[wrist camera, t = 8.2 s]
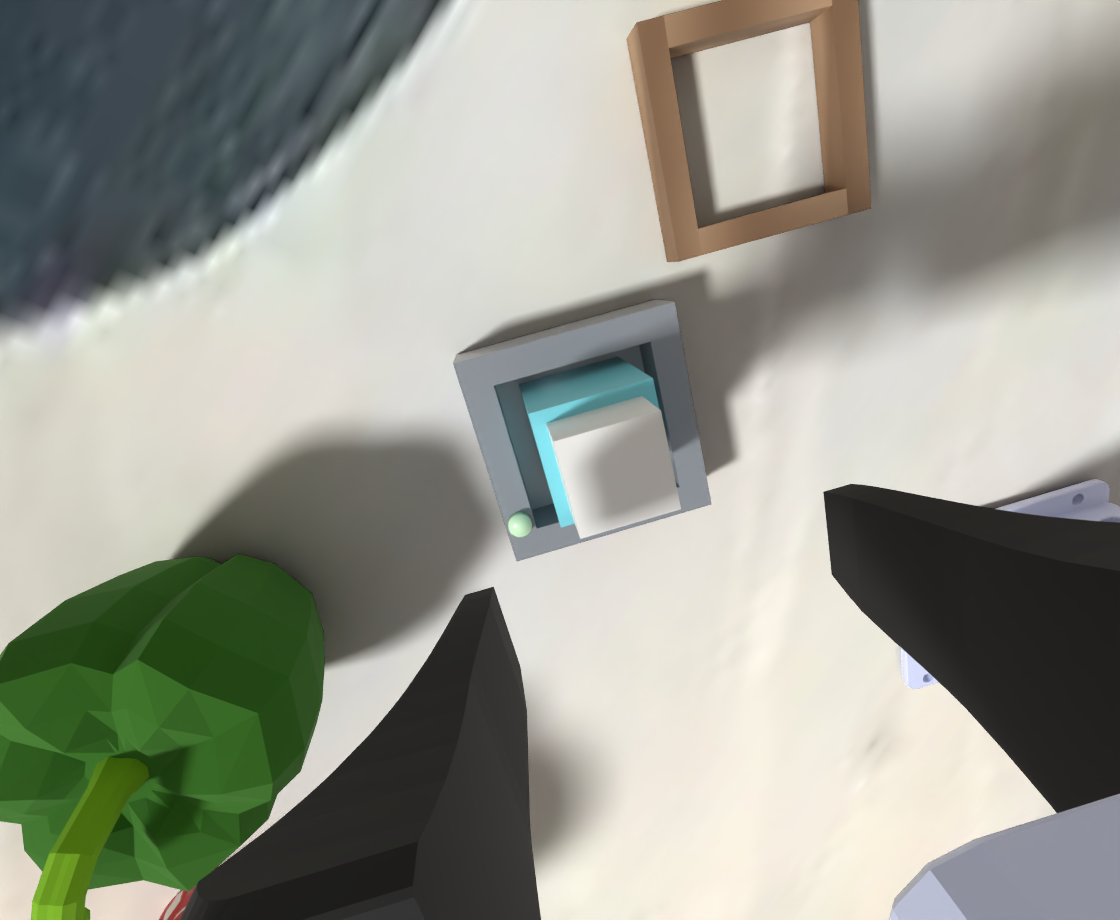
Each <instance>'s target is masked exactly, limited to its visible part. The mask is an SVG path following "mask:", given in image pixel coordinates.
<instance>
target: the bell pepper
mask: <svg viewBox="0 0 1120 920" xmlns="http://www.w3.org/2000/svg"><path fill="white" fill-rule="evenodd" d="M324 664H325V650H324V631H323V628H322V625H321V622H320V618H319V615H318V612H317V609H316V605H315V602H314V599H313V596H312V593H311V592H310V591H309V590H307V589H306V588H305V587H304V586H302V585H301V584H300V583H299V582H297V581H296V580H295V579H294V578H292V577H291V576H290V575H289V574H287V573H286V572H285V571H284V570H283V569H281V568H280V567H279V566H278V565H276V564H274V563H270V562H266V561H263V560H259V559H255V558H252V557H248V556H244V555H241V554H237V555H235V556H234V557H232V558H231V559H229V560H228V561H226V562H224V563H223V564H221V563H219V562H217V561H215V560H213V559H211V558H205V557H189V558H181V559H173V560H165V561H157V562H153V563H151V564H148V565H145V566H143V567H140V568H138V569H135V570H133V571H130V572H127V573H125V574H122V575H120V576H117V577H115V578H113V579H111V580H109V581H107V582H104V583H102V584H100V585H98V586H96V587H94V588H91V589H89V590H87V591H85V592H83V593H81V594H78V595H76V596H74V597H72V598H70V599H68V600H65V601H64V602H63V603H61V604H60V605H59V606H57V607H56V608H55V609H53V610H52V611H51V612H49V613H48V614H47V615H45V616H44V617H43V618H41V619H40V620H39V621H38V622H36V623H35V624H34V625H32V626H31V627H30V628H28V629H27V630H26V631H24V632H23V633H22V634H20V635H19V636H18V637H16V638H15V639H14V640H12V641H11V642H10V643H9V644H8V645H7V646H6V648H5V649H4V651H3V652H2V653H1V655H0V821H3V822H10V823H18V824H22V833H23V842H24V850H25V852H26V853H27V854H28V855H29V856H30V857H31V859H32V860H33V861H34V862H35V863H36V864H37V866H38V867H39V868H40V869H41V870H42V871H43V872H42V875H41V878H40V881H39V884H38V887H37V889H36V892H35V895H34V898H33V901H32V913H31V920H90V910H89V909H87V908H86V907H85V897H86V893H87V890H88V889H94V888H99V887H105V886H111V885H117V884H123V883H129V882H135V881H141V880H145V881H149V882H153V883H157V884H161V885H165V886H169V887H173V888H177V889H180V890H184V891H188V892H189V891H190V890H192V889H193V888H194V887H195V886H196V885H197V883H198V881H200V880H201V879H202V878H204V877H205V876H207V875H208V874H209V873H211V872H212V871H213V870H214V869H215V868H216V867H217V866H218V865H220V864H221V863H222V862H223V861H224V860H225V859H226V858H227V857H229V856H230V855H231V854H232V853H233V852H234V851H235V850H236V849H238V848H239V847H240V846H241V845H242V844H243V843H244V842H245V841H246V840H247V839H248V838H249V837H250V836H251V835H252V834H253V833H254V832H255V831H256V830H257V829H258V828H259V827H261V826H262V825H263V824H264V823H265V822H266V821H267V820H268V818H269V816H270V813H271V810H272V808H273V805H274V802H275V799H276V797H277V794H278V793H279V792H280V791H281V790H282V789H283V788H284V787H285V786H286V785H287V784H288V783H289V782H290V781H291V780H292V779H293V778H294V777H295V776H296V775H297V774H298V773H299V772H300V771H301V769H302V766H303V763H304V760H305V757H306V754H307V751H308V748H309V745H310V742H311V739H312V736H313V733H314V730H315V727H316V723H317V719H318V715H319V711H320V707H321V703H322V696H323V680H324Z"/></svg>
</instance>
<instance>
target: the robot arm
mask: <svg viewBox="0 0 1120 920" xmlns="http://www.w3.org/2000/svg"><path fill="white" fill-rule="evenodd" d="M1109 494H1110V487H1109V484H1108V483H1107V482H1104V481H1101V480H1098V479H1092V480H1089V481H1085V482H1082V483H1079V484H1075V485H1072V486H1069V487H1065V488H1062V489H1059V490H1055V491H1052V492H1049V493H1045V494H1042V495H1039V496H1035V497H1032V498H1029V499H1025V500H1022V501H1019V502H1015V503H1012V504H1009V505H1005V506H1002V507H999V508H995V509H992V508H985V507H980V506H974V505H968V504H963V503H957V502H952V501H947V500H942V499H936V498H931V497H926V496H921V495H916V494H911V493H906V492H901V491H896V490H890V489H885V488H879V487H873V486H866V485H857V484H849V485H846V486H843V487H839V488H836V489H832V490H829V491H825V492H824V501H825V511H826V521H827V531H828V541H829V551H830V561H831V571H832V575H833V576H834V578H835V579H836V580H837V582H838V583H839V584H840V585H841V587H842V588H843V589H844V590H845V592H846V593H847V594H848V595H849V597H850V598H851V599H852V600H853V601H854V602H855V604H856V605H857V606H858V607H859V608H860V609H861V611H862V612H863V613H864V614H866V615H867V616H868V617H869V618H870V619H871V620H872V621H873V622H874V623H875V624H876V625H877V626H878V627H879V628H880V629H881V630H883V631H884V632H885V633H886V634H887V635H888V636H889V637H890V638H891V639H892V640H893V641H894V642H895V643H897V644H898V645H899V646H900V648H901V664H902V679H903V682H904V683H905V684H906V685H907V686H908V687H909V688H911V689H919V688H922V687H925V686H928V685H931V684H935V683H938V682H939V683H940V684H941V685H943V686H944V687H945V688H946V689H947V690H948V691H949V692H950V693H951V694H952V695H953V696H954V697H955V698H956V699H957V700H958V701H959V702H960V703H961V704H962V705H963V706H964V707H965V708H966V709H967V710H968V711H969V712H970V713H971V714H972V716H973V717H974V718H975V719H976V720H977V721H978V722H979V723H980V724H981V726H982V727H983V728H984V729H985V730H986V731H987V732H988V733H989V734H990V735H991V737H992V738H993V739H994V740H995V741H996V742H997V743H998V744H999V745H1000V747H1001V748H1002V749H1003V750H1004V751H1005V752H1006V753H1007V754H1008V756H1009V757H1010V758H1011V759H1012V760H1013V761H1014V763H1015V764H1016V765H1017V766H1018V767H1019V769H1020V770H1021V771H1022V772H1023V773H1024V774H1025V776H1026V777H1027V778H1028V779H1029V780H1030V781H1031V783H1032V784H1033V785H1034V786H1035V787H1036V788H1037V790H1038V791H1039V792H1040V793H1041V794H1042V796H1043V797H1044V798H1045V799H1046V800H1047V801H1048V803H1049V804H1050V805H1051V806H1052V807H1053V809H1054V810H1055V811H1056V812H1057V814H1054V815H1050V816H1047V817H1044V818H1041V819H1038V820H1035V821H1031V822H1028V823H1025V824H1022V825H1019V826H1015V827H1012V828H1009V829H1006V830H1003V831H1000V832H996V833H993V834H990V835H987V836H984V837H981V838H977V839H974V840H972V841H970V842H968V843H966V844H964V845H962V846H961V847H959V848H957V849H955V850H953V851H951V852H949V853H947V854H945V855H943V856H941V857H939V858H937V859H935V860H933V861H931V862H929V863H927V864H926V865H925V867H924V868H923V869H922V870H921V871H920V872H919V873H918V874H917V875H916V876H915V877H914V878H913V879H912V880H911V882H910V883H909V884H908V885H907V886H906V887H905V888H904V889H903V890H902V891H901V892H900V893H899V894H898V895H897V897H896V898H895V899H894V902H893V906H892V910H891V913H890V917H889V920H1120V506H1118V505H1115V504H1113V503H1110V502H1109ZM180 920H541V916H540V909H539V901H538V893H537V885H536V877H535V868H534V860H533V852H532V844H531V830H530V814H529V774H528V736H527V709H526V702H525V695H524V688H523V682H522V675H521V669H520V664H519V661H518V658H517V655H516V652H515V649H514V646H513V643H512V641H511V638H510V635H509V632H508V629H507V626H506V623H505V620H504V617H503V614H502V611H501V608H500V605H499V602H498V599H497V596H496V593H495V590H494V587H491V588H488V589H484V590H481V591H477V592H474V593H470V594H467V595H465V596H464V598H463V599H462V601H461V603H460V604H459V606H458V608H457V609H456V611H455V613H454V615H453V616H452V618H451V620H450V622H449V624H448V625H447V627H446V629H445V630H444V632H443V634H442V636H441V637H440V639H439V641H438V642H437V644H436V646H435V647H434V649H433V651H432V652H431V654H430V655H429V657H428V659H427V660H426V662H425V663H424V665H423V666H422V668H421V669H420V671H419V672H418V673H417V675H416V676H415V678H414V679H413V681H412V682H411V684H410V685H409V687H408V688H407V689H406V691H405V692H404V693H403V695H402V696H401V697H400V699H399V700H398V701H397V703H396V704H395V705H394V706H393V708H392V709H391V710H390V711H389V713H388V714H387V715H386V716H385V717H384V718H383V720H382V721H381V722H380V723H379V724H378V726H377V727H376V728H375V729H374V730H373V731H372V732H371V734H370V735H369V736H368V737H367V738H366V739H365V740H364V741H363V742H362V743H361V744H360V745H359V746H358V747H357V748H356V749H355V750H354V751H353V752H352V753H351V754H350V755H349V756H348V757H347V758H346V759H345V760H344V761H343V762H342V764H341V765H340V766H339V767H338V768H337V769H336V770H335V771H334V772H333V773H332V774H331V775H330V776H329V777H328V778H326V779H325V780H324V781H323V782H322V783H321V784H320V785H319V786H318V787H317V788H316V789H314V790H313V791H312V792H311V793H310V794H309V795H308V796H307V797H306V798H305V799H303V800H302V801H301V802H300V803H299V804H298V805H296V806H295V807H294V808H293V809H292V810H290V811H289V812H288V813H287V814H286V815H285V816H283V817H282V818H281V819H280V820H279V821H277V822H276V823H275V824H274V825H273V826H271V827H270V828H269V829H268V830H266V831H265V832H264V833H263V834H261V835H260V836H259V837H257V838H256V839H255V840H253V841H252V842H251V843H249V844H248V845H247V846H245V847H244V848H243V849H241V850H240V851H239V852H237V853H236V854H235V855H234V856H232V857H231V858H230V859H228V860H227V861H226V862H224V863H223V864H222V865H220V866H219V867H218V868H216V869H215V870H214V871H212V872H211V873H209V874H208V875H207V876H205V877H204V878H202V879H201V880H200V881H198V883H197V885H196V887H195V889H194V891H193V893H192V895H191V897H190V899H189V901H188V903H187V905H186V908H185V910H184V912H183V914H182V916H181V918H180Z"/></svg>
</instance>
